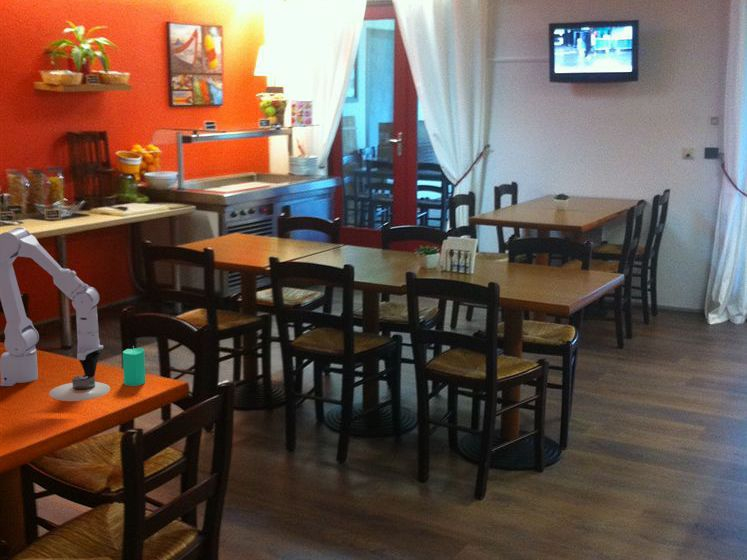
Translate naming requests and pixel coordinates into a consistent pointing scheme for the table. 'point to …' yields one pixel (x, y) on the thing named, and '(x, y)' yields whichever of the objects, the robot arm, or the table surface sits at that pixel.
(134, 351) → the candle
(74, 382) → the cover
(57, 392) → the cream flat disc
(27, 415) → the table surface
